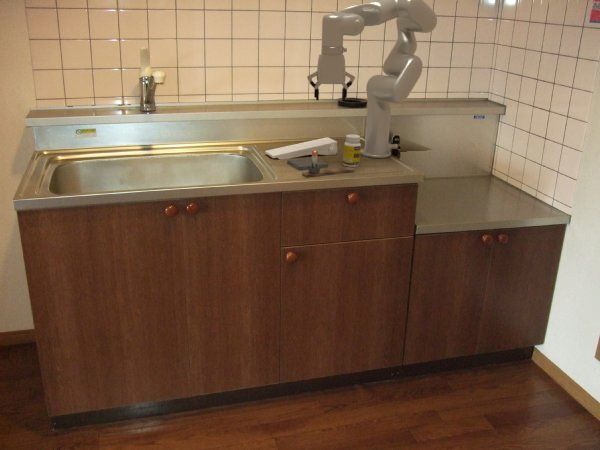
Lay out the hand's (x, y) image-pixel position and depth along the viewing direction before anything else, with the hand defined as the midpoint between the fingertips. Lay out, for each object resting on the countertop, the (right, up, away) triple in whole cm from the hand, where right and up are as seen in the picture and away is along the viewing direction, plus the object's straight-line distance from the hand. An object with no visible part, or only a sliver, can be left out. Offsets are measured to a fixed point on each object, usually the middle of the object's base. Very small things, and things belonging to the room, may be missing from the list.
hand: (330, 99), depth 222 cm
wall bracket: (-11, -18, +22) cm, 30 cm away
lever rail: (-1, -27, -2) cm, 27 cm away
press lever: (-6, -27, -5) cm, 28 cm away
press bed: (-8, -23, +8) cm, 26 cm away
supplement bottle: (+8, -23, +10) cm, 27 cm away
